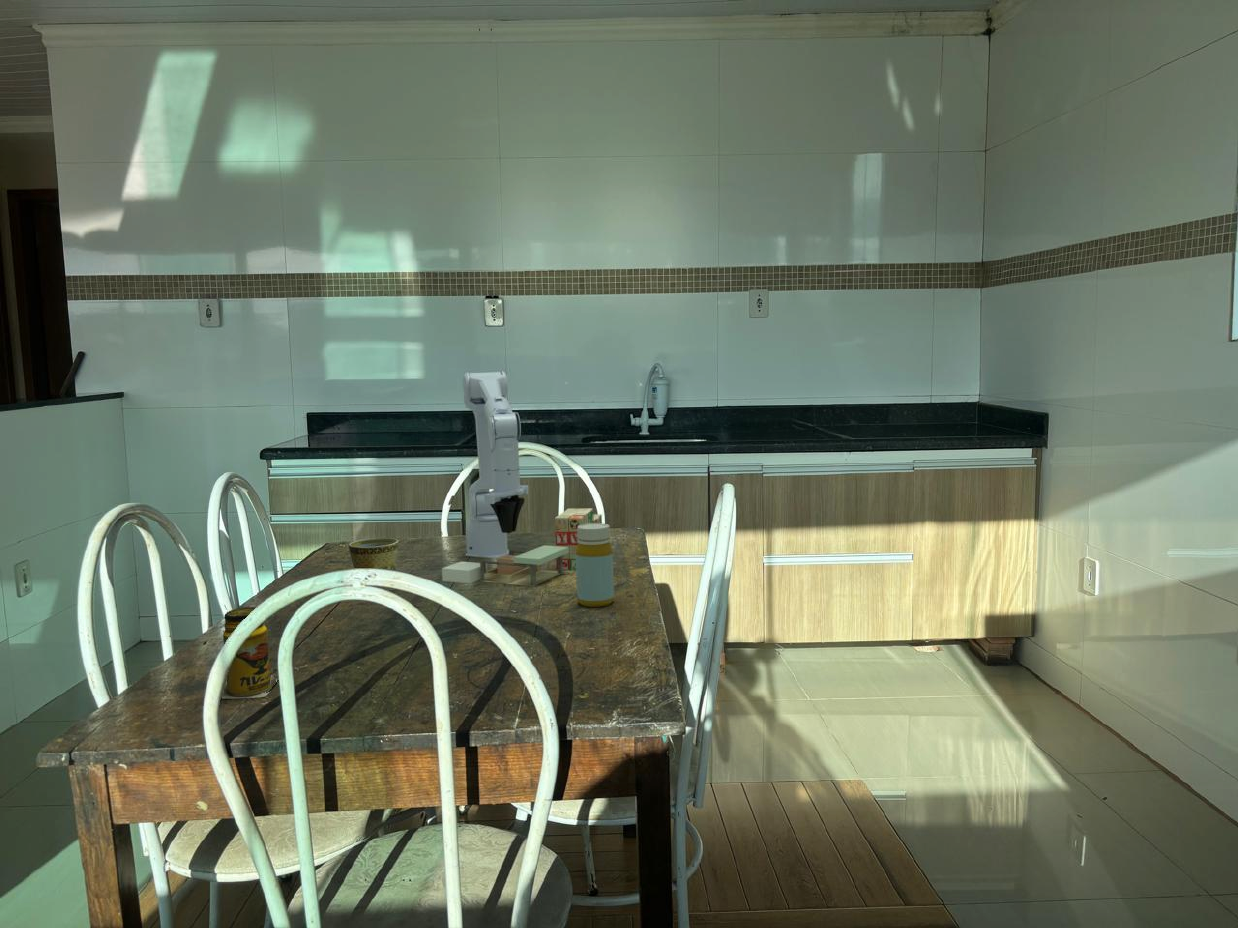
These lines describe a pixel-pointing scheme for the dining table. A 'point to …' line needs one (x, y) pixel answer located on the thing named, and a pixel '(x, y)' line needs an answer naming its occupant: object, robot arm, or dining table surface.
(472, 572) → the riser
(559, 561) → the grey frame
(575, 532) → the stack of blocks
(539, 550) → the lid
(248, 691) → the condiment
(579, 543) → the bottle
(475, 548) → the robot arm
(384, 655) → the dining table surface
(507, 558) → the block
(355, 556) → the ceramic cup
